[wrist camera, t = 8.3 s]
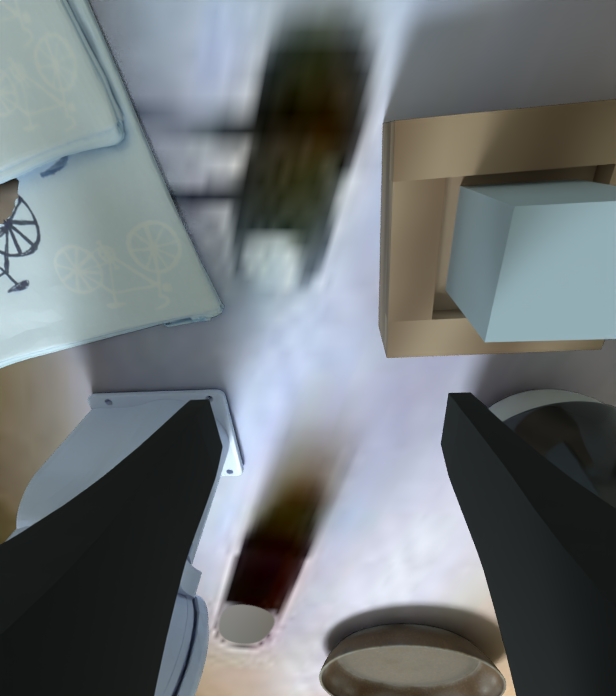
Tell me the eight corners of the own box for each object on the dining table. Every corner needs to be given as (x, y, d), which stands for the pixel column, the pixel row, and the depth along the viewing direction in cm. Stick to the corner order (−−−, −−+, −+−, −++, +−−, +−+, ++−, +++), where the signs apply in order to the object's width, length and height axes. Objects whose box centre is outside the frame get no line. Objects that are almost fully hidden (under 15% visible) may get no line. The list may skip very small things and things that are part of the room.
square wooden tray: (378, 325, 21) (386, 357, 18) (382, 123, 16) (395, 120, 13) (560, 317, 20) (601, 349, 17) (626, 100, 15) (701, 90, 12)
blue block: (445, 289, 17) (484, 342, 13) (460, 185, 15) (514, 206, 10) (544, 286, 16) (621, 338, 12) (576, 178, 14) (683, 197, 10)
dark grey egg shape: (618, 344, 21) (1121, 706, 7) (595, 466, 26) (874, 810, 12) (436, 377, 22) (586, 714, 9) (448, 485, 27) (557, 803, 14)
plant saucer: (311, 675, 49) (310, 709, 46) (331, 601, 38) (332, 639, 35) (461, 692, 49) (469, 726, 46) (523, 622, 38) (539, 662, 35)
